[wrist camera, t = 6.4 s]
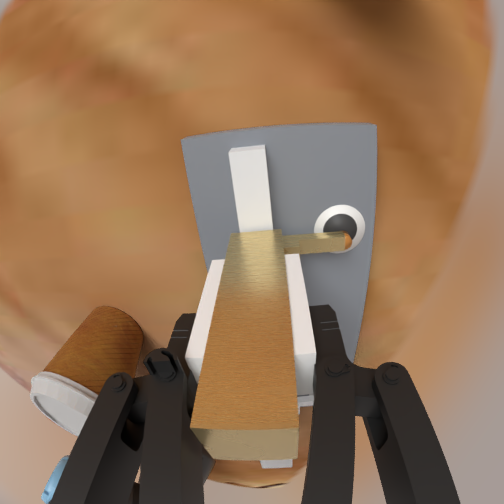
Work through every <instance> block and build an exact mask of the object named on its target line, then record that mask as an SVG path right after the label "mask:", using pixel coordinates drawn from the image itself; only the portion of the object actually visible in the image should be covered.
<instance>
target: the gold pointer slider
mask: <svg viewBox="0 0 504 504" xmlns="http://www.w3.org/2000/svg"><path fill="white" fill-rule="evenodd" d="M351 245H352V239H351V237H350V236H349V234H348V232H346V231H343V230H342V231H338V232H324V233H311V234H298V235H285V236H282V230H281V229H276V230H264V231H252V232H240V233H231V235H230V240H229V244H228V248H227V252H226V257H225V261H224V265H223V270H222V274H221V279H220V283H219V288H218V292H217V297H216V301H215V306H214V310H213V315H212V319H211V324H210V329H209V334H208V338H207V343H206V348H205V353H204V357H203V362H202V367H201V372H200V377H199V382H198V387H197V392H196V397H195V403H194V408H193V413H192V418H191V424H190V429H191V430H192V431H193V433H194V434H195V435H196V437H197V438H198V440H199V441H200V442H201V444H202V445H203V446H204V448H205V449H206V450H207V451H208V453H209V454H210V455H211V457H212V458H213V459H221V460H287V459H297V455H298V438H299V419H298V403H297V388H296V374H295V361H294V349H293V337H292V326H291V315H290V305H289V294H288V284H287V275H286V265H285V256H284V255H286V254H299V257H300V254H310V253H322V252H334V251H345V250H346V249H348V248H350V247H351Z"/></svg>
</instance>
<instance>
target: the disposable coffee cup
mask: <svg viewBox="0 0 504 504" xmlns="http://www.w3.org/2000/svg"><path fill="white" fill-rule="evenodd" d="M142 342H143V333H142V331H141V329H140V327H139V326H138V324H137V323H136V322H135V321H134V320H133V319H132V318H131V317H130V316H128V315H127V314H126V313H124V312H122V311H120V310H118V309H115V308H112V307H106V306H102V307H98V308H96V309H94V310H93V311H92V313H91V314H90V315H89V316H88V317H87V318H86V319H85V321H84V322H83V323H82V324H81V325H80V326H79V328H78V329H77V330H76V331H75V332H74V333H73V335H72V336H71V337H70V338H69V339H68V341H67V342H66V343H65V344H64V345H63V347H62V348H61V349H60V350H59V351H58V353H57V354H56V355H55V357H54V358H53V359H52V360H51V361H50V363H49V364H48V365H47V366H46V368H45V369H44V370H43V372H40V373H39V374H38V375H36V376H34V377H33V378H32V380H31V384H32V388H31V392H30V398H31V400H32V402H33V403H34V404H35V406H36V407H37V408H38V409H39V410H40V411H41V412H42V413H43V414H44V415H45V416H46V417H48V418H49V419H50V420H51V421H53V422H54V423H56V424H57V425H58V426H60V427H62V428H63V429H65V430H66V431H68V432H70V433H72V434H73V435H76V436H79V434H80V432H81V430H82V428H83V425H84V423H85V421H86V419H87V417H88V415H89V413H90V411H91V409H92V407H93V405H94V403H95V401H96V399H97V397H98V395H99V393H100V391H101V389H102V387H103V385H104V383H105V382H106V380H107V379H108V378H109V377H110V376H111V375H113V374H115V373H118V372H125V373H127V374H129V375H130V376H131V377H132V379H133V378H134V377H135V372H136V368H137V363H138V359H139V355H140V351H141V346H142Z"/></svg>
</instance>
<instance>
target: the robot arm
mask: <svg viewBox="0 0 504 504" xmlns="http://www.w3.org/2000/svg"><path fill="white" fill-rule="evenodd" d="M284 256H285V265H286V275H287V284H288V294H289V305H290V315H291V326H292V337H293V349H294V361H295V374H296V388H297V395H307V394H314V403H313V411H312V413H313V414H312V425H311V435H310V444H309V453H308V461H307V469H306V476H305V483H304V490H303V496H302V502H301V504H352V494H353V478H354V459H355V416H362V417H363V420H364V424H365V427H366V430H367V434H368V437H369V440H370V444H371V447H372V451H373V454H374V458H375V461H376V465H377V469H378V472H379V476H380V480H381V483H382V487H383V491H384V495H385V499H386V503H387V504H460V501H459V498H458V494H457V491H456V488H455V485H454V482H453V479H452V476H451V473H450V470H449V467H448V465H447V462H446V459H445V456H444V454H443V451H442V449H441V446H440V443H439V441H438V439H437V436H436V434H435V431H434V429H433V426H432V424H431V421H430V419H429V417H428V414H427V412H426V410H425V407H424V405H423V403H422V401H421V399H420V397H419V394H418V392H417V390H416V388H415V386H414V383H413V381H412V379H411V377H410V375H409V373H408V371H407V370H406V368H405V367H404V366H402V365H401V364H399V363H395V362H387V363H384V364H382V365H380V366H379V367H378V368H377V369H370V368H363V367H359V366H357V365H355V364H353V363H352V362H351V361H350V360H349V359H348V357H347V355H346V351H345V347H344V343H343V339H342V335H341V331H340V329H339V324H338V320H337V316H336V313H335V311H334V310H333V309H332V307H331V306H330V305H329V304H327V305H316V306H309V305H308V300H307V294H306V289H305V283H304V278H303V273H302V267H301V262H300V257H299V254H286V255H284ZM224 261H225V259H220V260H212V262H211V265H210V269H209V272H208V276H207V279H206V282H205V286H204V289H203V293H202V296H201V300H200V303H199V307H198V310H197V313H190V314H182V315H181V317H180V318H179V319H178V320H177V321H176V324H175V327H174V329H173V330H174V331H173V332H172V335H171V338H170V341H169V344H168V348H160V349H156V350H154V351H152V352H150V353H149V354H148V355H147V356H146V357H145V360H144V364H145V366H146V368H147V369H148V371H149V373H150V375H147V376H143V377H138V378H133V379H132V377H131V376H130V375H129V374H127V373H125V372H118V373H115V374H113V375H111V376H110V377H109V378H108V379H107V380H106V382H105V383H104V385H103V387H102V389H101V391H100V393H99V395H98V397H97V399H96V401H95V403H94V405H93V407H92V409H91V411H90V413H89V415H88V417H87V419H86V421H85V423H84V425H83V428H82V430H81V432H80V434H79V436H78V438H77V440H76V443H75V445H74V447H73V449H72V451H71V454H70V455H67V456H64V457H63V458H62V459H61V460H60V461H59V463H58V464H57V466H56V468H55V469H54V471H53V473H52V475H51V477H50V479H49V480H48V483H47V485H46V487H45V490H44V492H43V494H42V496H41V498H42V500H43V501H44V502H45V503H46V504H204V493H203V492H204V491H203V485H204V483H205V481H206V480H207V478H208V476H209V474H210V472H211V470H212V468H213V466H214V465H215V460H216V459H213V458H212V457H211V455H210V454H209V453H208V451H207V450H206V449H205V448H204V446H203V445H202V444H201V442H200V441H199V440H198V438H197V437H196V435H195V434H194V433H193V431H192V430H191V429H190V424H191V418H192V413H193V408H194V403H195V397H196V392H197V387H198V382H199V377H200V372H201V367H202V362H203V357H204V353H205V348H206V343H207V338H208V334H209V329H210V324H211V319H212V315H213V310H214V306H215V301H216V297H217V292H218V288H219V283H220V279H221V274H222V270H223V265H224ZM139 467H140V470H141V473H140V477H139V482H138V483H136V482H134V481H135V478H136V475H137V472H138V469H139Z"/></svg>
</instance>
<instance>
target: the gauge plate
mask: <svg viewBox="0 0 504 504" xmlns="http://www.w3.org/2000/svg"><path fill="white" fill-rule="evenodd" d="M181 144H182V150H183V155H184V161H185V166H186V172H187V177H188V182H189V188H190V193H191V198H192V203H193V208H194V212H195V217H196V222H197V227H198V231H199V236H200V241H201V245H202V250H203V254H204V258H205V263H206V267H207V271H208V272H209V269H210V265H211V262H212V260H220V259H225V257H226V252H227V248H228V244H229V240H230V235H231V233H240V232H252V231H264V230H276V229H281V230H282V236H285V235H298V234H311V233H324V232H338V231H342V230H343V231H346V232H348V234H349V236H350V237H351V239H352V245H351V247H350V248H348V249H346V250H345V251H334V252H322V253H310V254H300V262H301V267H302V273H303V278H304V283H305V289H306V294H307V300H308V305H309V306H316V305H327V304H329V305H330V306H331V307H332V309H333V310H334V311H335V313H336V316H337V320H338V324H339V329H340V331H341V335H342V339H343V343H344V347H345V351H346V355H347V357H348V359H349V360H350V361H351V362H352V363H353V361H354V357H355V352H356V347H357V343H358V338H359V333H360V328H361V322H362V317H363V311H364V305H365V299H366V292H367V285H368V278H369V271H370V263H371V254H372V244H373V233H374V221H375V206H376V185H377V125H374V124H371V123H306V124H288V125H274V126H263V127H253V128H244V129H235V130H227V131H220V132H213V133H207V134H200V135H194V136H189V137H186V138H184V139H182V140H181ZM297 403H298V414H300V407H306V406H313V403H314V394H307V395H297ZM260 463H261V465H262V468H286V467H292V459H287V460H260Z"/></svg>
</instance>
